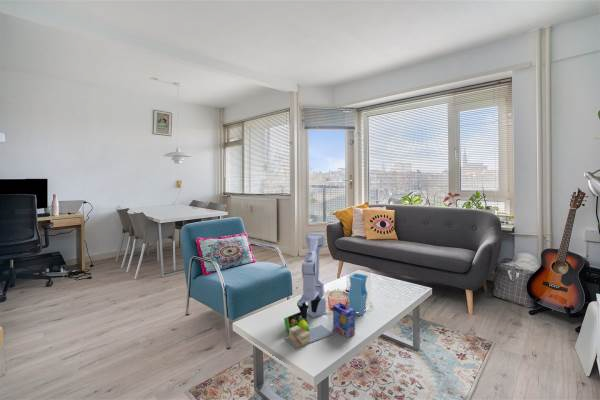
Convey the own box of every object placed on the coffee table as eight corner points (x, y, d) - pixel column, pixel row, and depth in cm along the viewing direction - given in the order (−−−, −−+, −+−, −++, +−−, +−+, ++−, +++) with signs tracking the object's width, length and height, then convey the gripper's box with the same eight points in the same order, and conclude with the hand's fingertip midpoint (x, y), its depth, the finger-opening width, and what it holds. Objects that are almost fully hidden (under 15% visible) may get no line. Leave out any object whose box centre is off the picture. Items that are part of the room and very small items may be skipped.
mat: (321, 325, 147) (321, 324, 147) (333, 334, 139) (333, 333, 139) (284, 338, 135) (284, 337, 135) (295, 348, 127) (295, 347, 127)
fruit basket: (298, 309, 151) (313, 310, 143) (302, 327, 149) (317, 329, 141) (281, 316, 143) (295, 317, 135) (284, 335, 142) (299, 337, 133)
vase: (360, 315, 157) (361, 279, 155) (347, 311, 162) (348, 276, 160) (367, 310, 163) (367, 275, 161) (354, 306, 168) (354, 272, 166)
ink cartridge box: (332, 329, 143) (332, 300, 142) (340, 325, 147) (340, 297, 146) (347, 338, 136) (347, 308, 134) (355, 334, 139) (355, 304, 138)
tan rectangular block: (309, 341, 132) (309, 332, 132) (302, 345, 129) (302, 336, 129) (296, 333, 139) (296, 325, 138) (289, 336, 136) (289, 328, 135)
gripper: (311, 280, 145) (311, 307, 147) (292, 289, 134) (292, 318, 136) (323, 284, 141) (323, 311, 142) (304, 293, 130) (304, 323, 131)
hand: (309, 315), depth 139 cm, fingers open, 7 cm apart
